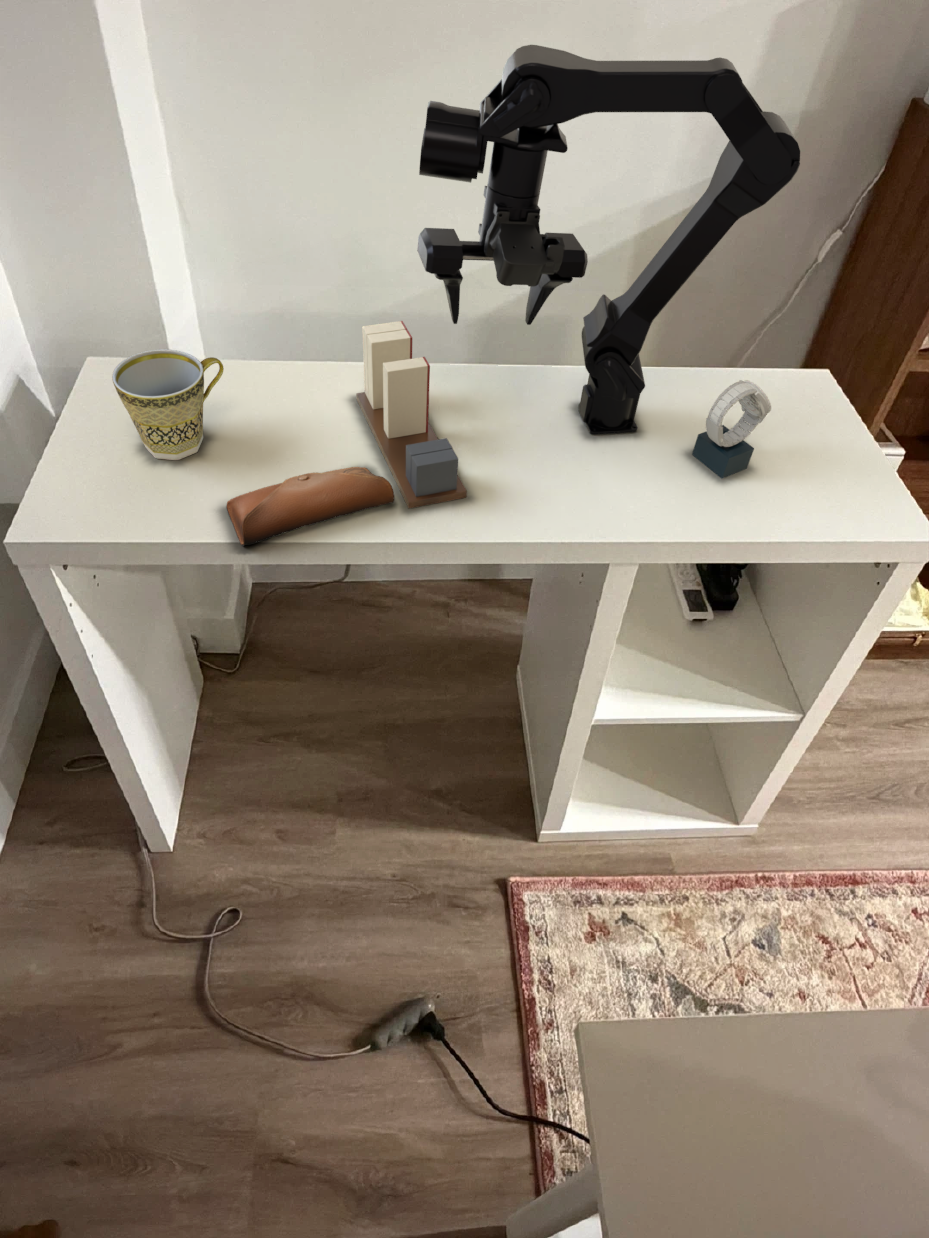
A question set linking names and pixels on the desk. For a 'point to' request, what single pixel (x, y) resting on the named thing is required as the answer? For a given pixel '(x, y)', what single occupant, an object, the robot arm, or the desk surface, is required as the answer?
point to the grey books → (431, 467)
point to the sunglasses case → (306, 502)
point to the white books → (382, 355)
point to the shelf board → (403, 456)
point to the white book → (406, 397)
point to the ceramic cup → (165, 399)
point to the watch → (728, 446)
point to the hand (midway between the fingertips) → (491, 323)
